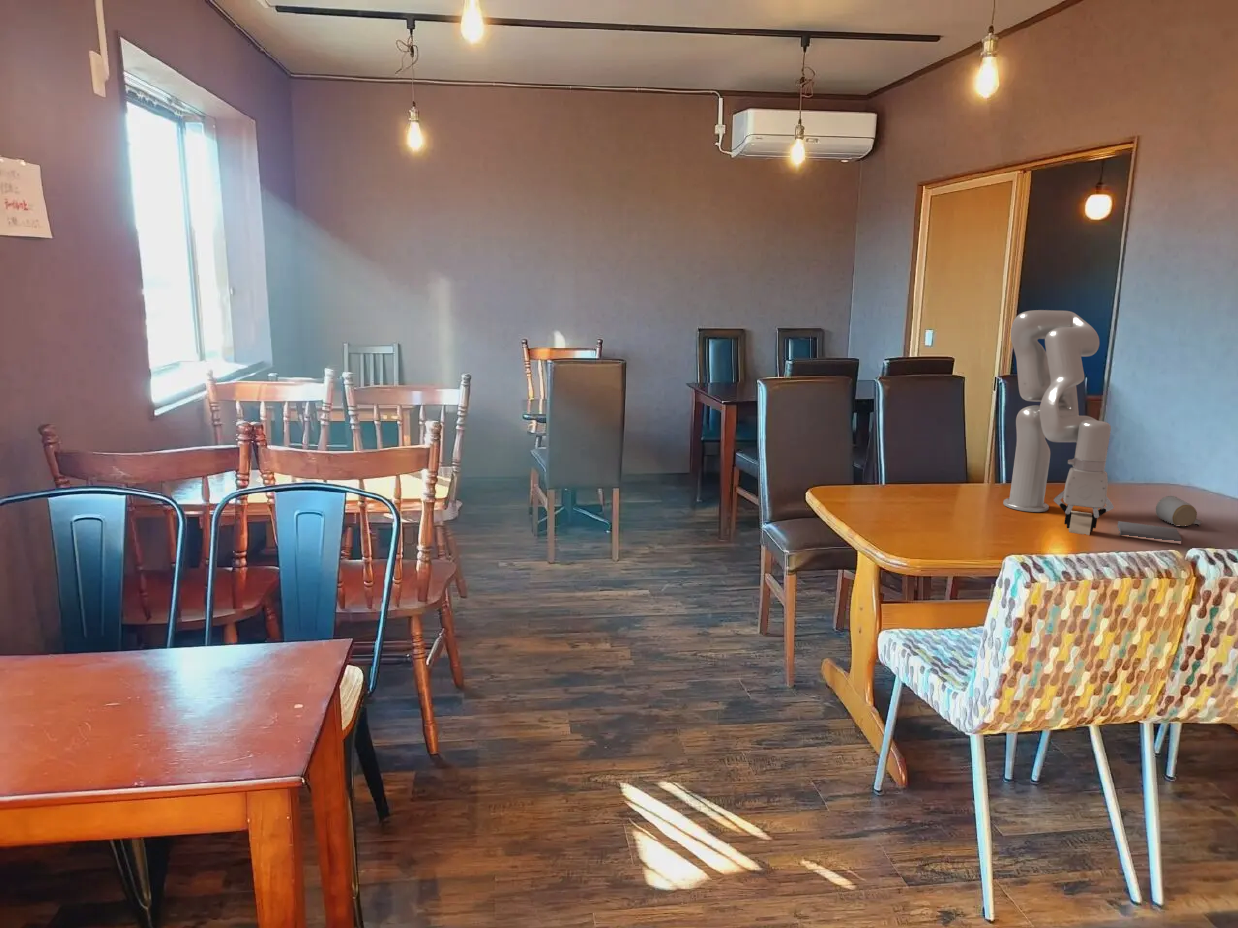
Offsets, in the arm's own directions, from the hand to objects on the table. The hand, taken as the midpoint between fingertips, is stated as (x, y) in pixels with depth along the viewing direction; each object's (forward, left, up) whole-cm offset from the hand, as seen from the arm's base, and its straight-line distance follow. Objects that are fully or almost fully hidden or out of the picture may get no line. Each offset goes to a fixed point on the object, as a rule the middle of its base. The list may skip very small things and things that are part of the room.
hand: (1079, 527), depth 227 cm
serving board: (-6, +17, -1) cm, 18 cm away
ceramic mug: (-24, +26, -1) cm, 35 cm away
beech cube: (0, 0, -1) cm, 1 cm away
